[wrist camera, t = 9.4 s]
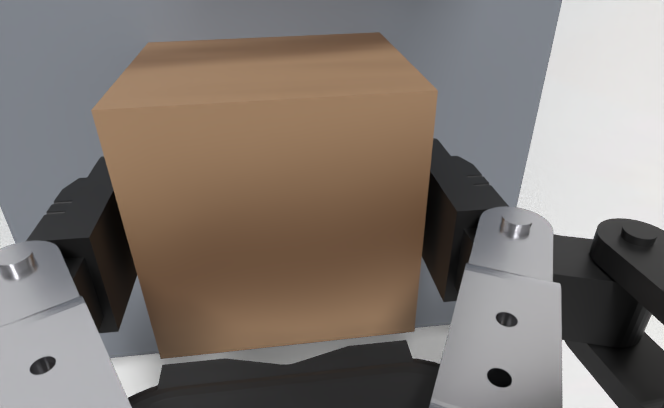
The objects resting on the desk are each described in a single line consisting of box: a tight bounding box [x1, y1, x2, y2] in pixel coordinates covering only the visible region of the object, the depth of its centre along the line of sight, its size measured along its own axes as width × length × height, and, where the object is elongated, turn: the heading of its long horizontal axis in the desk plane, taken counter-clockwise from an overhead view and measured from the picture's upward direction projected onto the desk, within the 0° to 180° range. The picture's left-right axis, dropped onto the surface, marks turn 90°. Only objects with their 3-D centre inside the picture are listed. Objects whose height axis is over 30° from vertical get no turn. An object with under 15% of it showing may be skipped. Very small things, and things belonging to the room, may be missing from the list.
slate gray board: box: [0, 0, 562, 358], centre depth 15 cm, size 16×16×2 cm
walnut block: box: [91, 32, 438, 359], centre depth 12 cm, size 6×6×5 cm
